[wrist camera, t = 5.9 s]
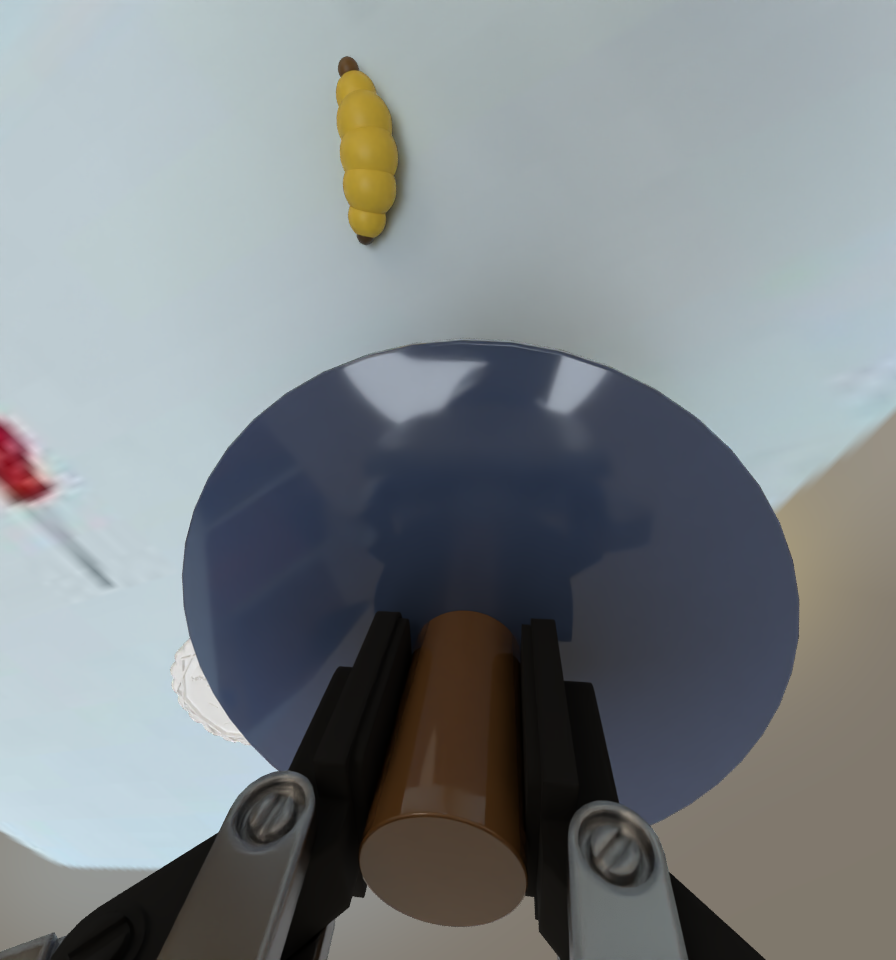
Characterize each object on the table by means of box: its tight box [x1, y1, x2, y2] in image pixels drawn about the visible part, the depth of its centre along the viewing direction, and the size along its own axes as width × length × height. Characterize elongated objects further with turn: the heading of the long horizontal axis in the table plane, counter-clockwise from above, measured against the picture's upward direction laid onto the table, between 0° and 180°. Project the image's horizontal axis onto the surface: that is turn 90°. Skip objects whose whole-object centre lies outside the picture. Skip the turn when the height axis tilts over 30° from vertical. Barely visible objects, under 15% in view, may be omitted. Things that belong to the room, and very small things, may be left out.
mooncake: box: [170, 638, 251, 745], centre depth 40 cm, size 12×12×4 cm
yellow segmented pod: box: [336, 56, 398, 245], centre depth 26 cm, size 9×3×3 cm, turn 2°
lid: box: [182, 338, 799, 927], centre depth 10 cm, size 15×15×6 cm
